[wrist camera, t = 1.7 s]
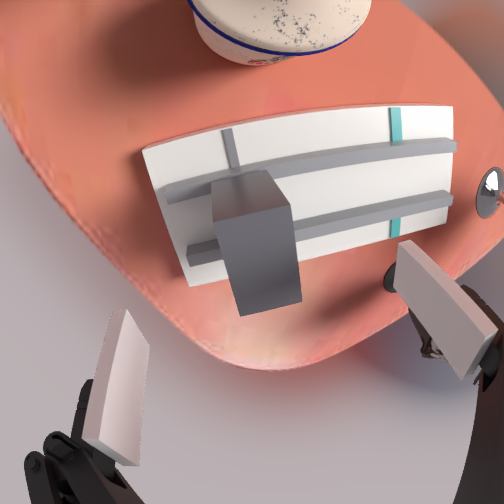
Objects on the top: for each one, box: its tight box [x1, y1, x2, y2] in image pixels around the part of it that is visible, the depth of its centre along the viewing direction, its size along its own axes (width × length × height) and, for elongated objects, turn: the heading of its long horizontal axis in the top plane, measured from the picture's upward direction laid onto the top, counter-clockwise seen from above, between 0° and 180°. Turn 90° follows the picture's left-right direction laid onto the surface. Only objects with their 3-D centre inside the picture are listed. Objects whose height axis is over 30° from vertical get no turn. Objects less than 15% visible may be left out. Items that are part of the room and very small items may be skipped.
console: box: [142, 103, 457, 287], centre depth 22 cm, size 12×26×4 cm, turn 101°
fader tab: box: [211, 170, 302, 317], centre depth 18 cm, size 6×4×8 cm, turn 11°
